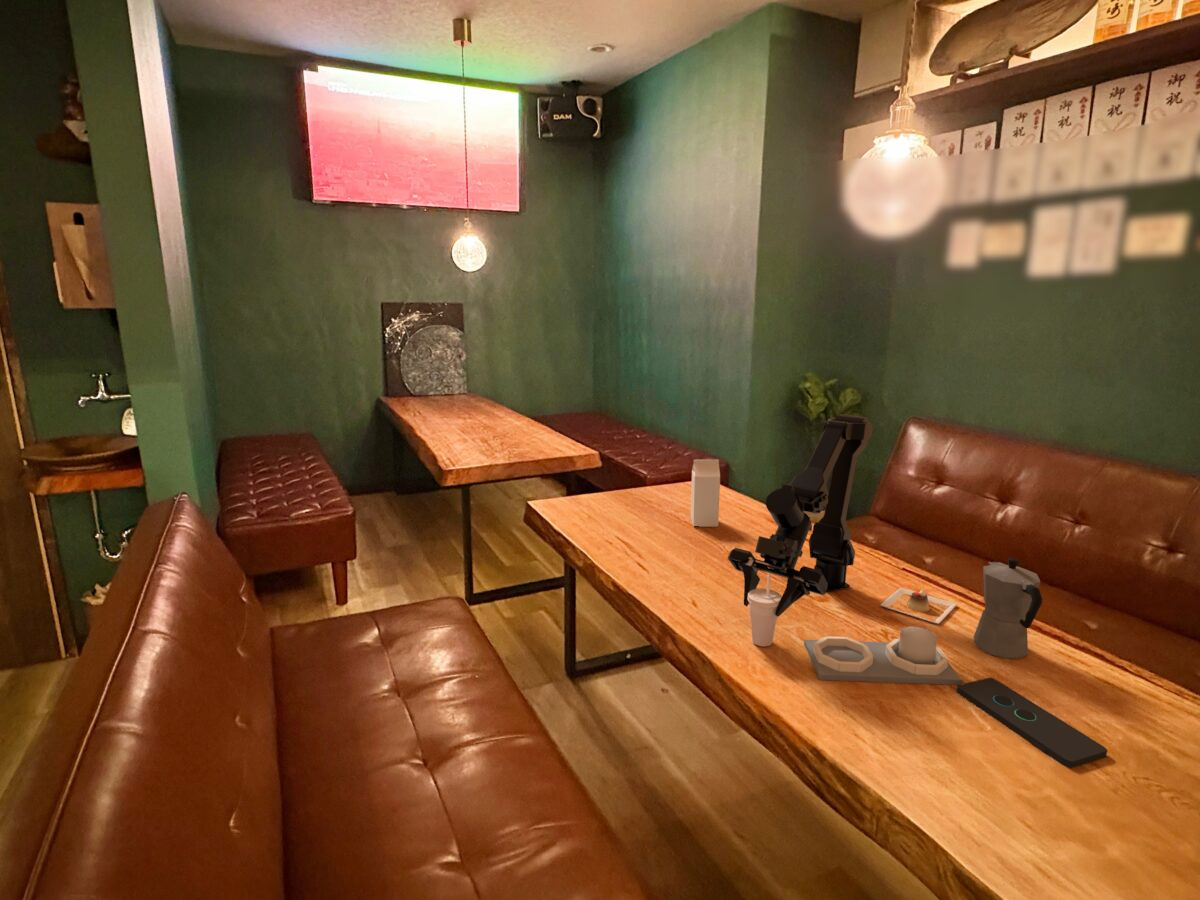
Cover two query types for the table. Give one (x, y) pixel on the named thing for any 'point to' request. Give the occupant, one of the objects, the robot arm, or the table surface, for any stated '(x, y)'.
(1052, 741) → the smart home device
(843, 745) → the table surface
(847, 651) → the board
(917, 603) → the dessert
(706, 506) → the milk carton
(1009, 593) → the coffeepot
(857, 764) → the table surface
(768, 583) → the smoothie
